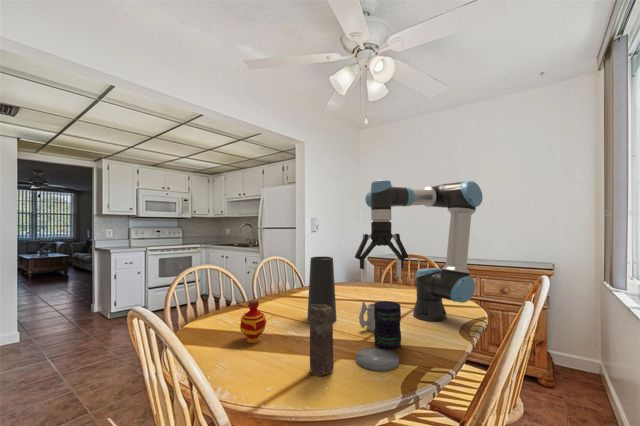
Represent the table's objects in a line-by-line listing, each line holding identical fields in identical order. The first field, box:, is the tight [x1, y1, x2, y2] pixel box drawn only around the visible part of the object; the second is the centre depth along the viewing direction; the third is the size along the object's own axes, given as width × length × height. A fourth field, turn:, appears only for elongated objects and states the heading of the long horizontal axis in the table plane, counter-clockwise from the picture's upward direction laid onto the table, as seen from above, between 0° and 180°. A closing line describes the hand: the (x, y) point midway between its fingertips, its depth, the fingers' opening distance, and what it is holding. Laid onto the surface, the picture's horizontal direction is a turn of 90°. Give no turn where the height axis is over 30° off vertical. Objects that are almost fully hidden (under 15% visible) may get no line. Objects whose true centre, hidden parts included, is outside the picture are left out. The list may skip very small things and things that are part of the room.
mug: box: [358, 301, 375, 332], centre depth 131 cm, size 8×12×12 cm, turn 115°
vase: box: [306, 256, 337, 323], centre depth 144 cm, size 14×14×29 cm
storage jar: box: [373, 300, 402, 352], centre depth 114 cm, size 10×10×15 cm
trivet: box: [355, 347, 400, 372], centre depth 101 cm, size 14×14×1 cm
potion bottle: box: [239, 299, 267, 343], centre depth 119 cm, size 10×10×15 cm
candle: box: [309, 304, 335, 377], centre depth 95 cm, size 8×7×20 cm
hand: (381, 277), depth 116 cm, fingers open, 13 cm apart
